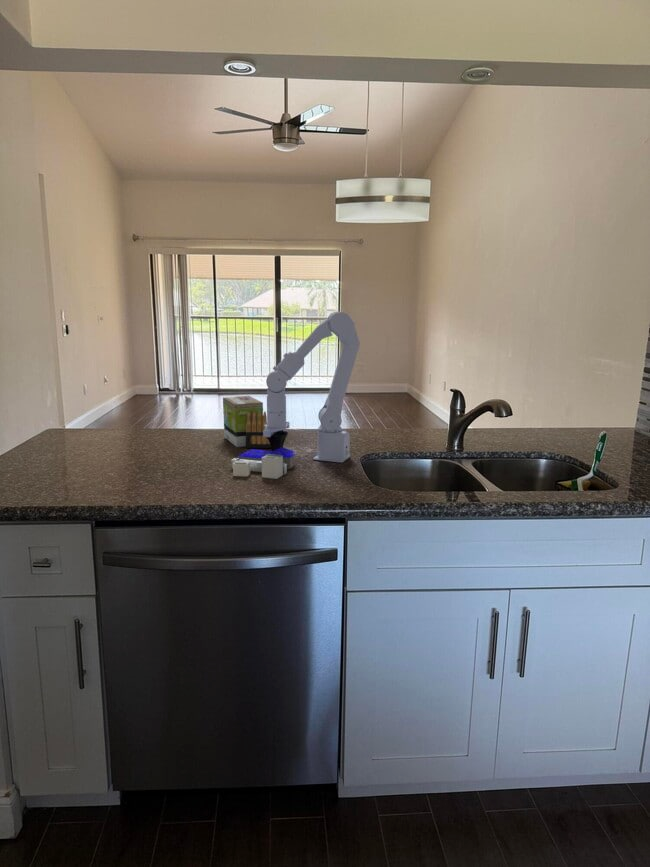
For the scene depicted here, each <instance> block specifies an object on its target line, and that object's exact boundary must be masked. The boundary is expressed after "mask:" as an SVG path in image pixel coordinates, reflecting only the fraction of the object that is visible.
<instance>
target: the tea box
mask: <svg viewBox="0 0 650 867" xmlns="http://www.w3.org/2000/svg"><path fill="white" fill-rule="evenodd" d="M222 407H223V408H222V410H223V411H222V414H223V434H224V439H226V440H227V441H229V442H230V443H231V444H232V445H233V446H235V448H241V447H245V446H246V424H247V414H248V411H249V412H250V416H251V432H252V416H253V412H254V411H255V414H256V424H257V421H258V413H259V411H260V413H261V422H262V424H263V414H264V402H262V401H260V400H258V399H256V398H254V397H252V396H250V395H242V396H230V397H229V396H228V397H222ZM251 438H252V436H251Z"/></svg>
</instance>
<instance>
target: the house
mask: <svg viewBox="0 0 650 867" xmlns="http://www.w3.org/2000/svg"><path fill="white" fill-rule="evenodd" d="M294 452H295V451H294V450H291V449H289V448H285V447H283V448H282V447H281V448H279V449H276V450H275V451H272V450H263V449H257V448H249V449H248V450H246V451H245V452H243V453H241V454H239V455H237V456H236V457H237V458H240V459H248V460H258V461H262V457H264V456H266V454H276V455H282V456H283V463H285V464H287V470H289V469H292V468H293V467H294V466H295V455H296V454H294Z"/></svg>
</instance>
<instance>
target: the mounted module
mask: <svg viewBox="0 0 650 867" xmlns="http://www.w3.org/2000/svg"><path fill="white" fill-rule="evenodd" d="M282 476H284V475H283V456H282V455H276V454H266V456H264V457H262V472H261V477H262V478H264V479H265V478H266V479H275V480H277V479H279V478H280V477H282Z"/></svg>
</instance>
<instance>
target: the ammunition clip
mask: <svg viewBox="0 0 650 867" xmlns="http://www.w3.org/2000/svg"><path fill="white" fill-rule="evenodd" d="M266 424H267V411H264V410H263V424H262V422H261V413H260V411H259V413H258V421H257V424H256V414H255V411H254V412H253V416H252V432H251V416H250V412H249V411H248V414H247V424H246V446H244V447H245V448H246V449H247V448H249V449H271V446H270V443H269V441H268V439H267V437H263V430H265V428H264V425H266ZM251 436H252V438H251Z"/></svg>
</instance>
